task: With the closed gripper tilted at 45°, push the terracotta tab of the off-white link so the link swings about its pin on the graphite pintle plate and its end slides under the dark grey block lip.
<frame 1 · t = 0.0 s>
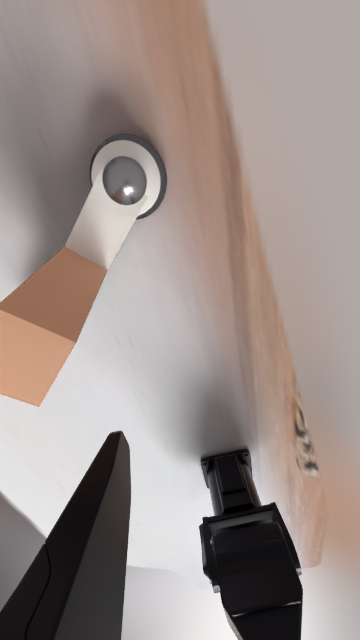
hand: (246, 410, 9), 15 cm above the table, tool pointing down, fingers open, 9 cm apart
link: (73, 276, 15), point 7 cm above the table, hinge at 0.0°
pintle plate: (130, 179, 18), on the table
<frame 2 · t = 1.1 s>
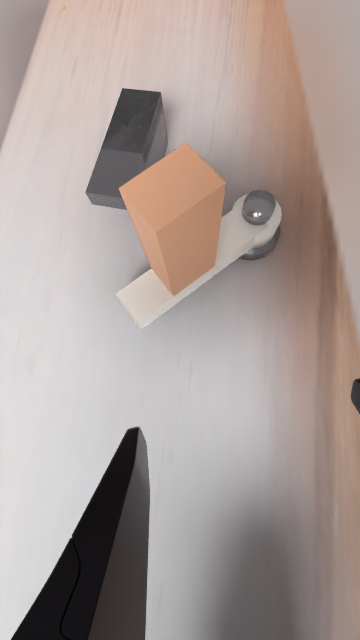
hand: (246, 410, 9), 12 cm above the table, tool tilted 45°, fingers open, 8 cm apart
dark grey block: (132, 164, 24), on the table
link: (203, 227, 18), point 7 cm above the table, hinge at 0.0°
pintle plate: (249, 235, 25), on the table
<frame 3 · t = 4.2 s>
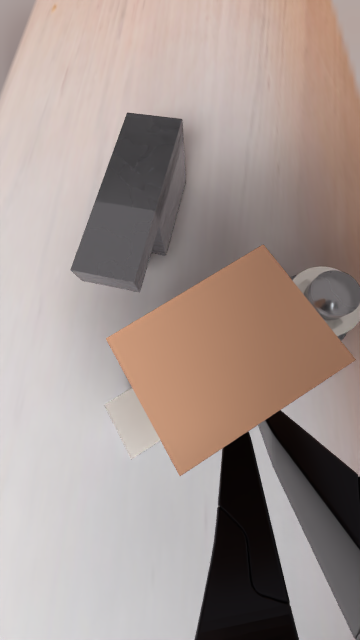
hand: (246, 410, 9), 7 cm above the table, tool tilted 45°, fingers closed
dark grey block: (139, 217, 17), on the table
link: (253, 342, 11), point 7 cm above the table, hinge at -5.4°, touching gripper
pintle plate: (302, 315, 18), on the table
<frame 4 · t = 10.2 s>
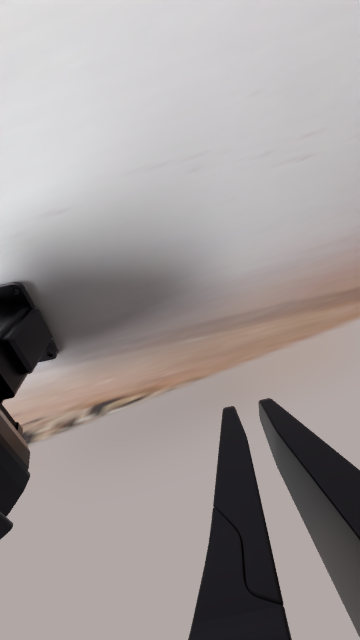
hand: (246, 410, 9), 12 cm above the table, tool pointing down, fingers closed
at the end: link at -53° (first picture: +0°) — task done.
